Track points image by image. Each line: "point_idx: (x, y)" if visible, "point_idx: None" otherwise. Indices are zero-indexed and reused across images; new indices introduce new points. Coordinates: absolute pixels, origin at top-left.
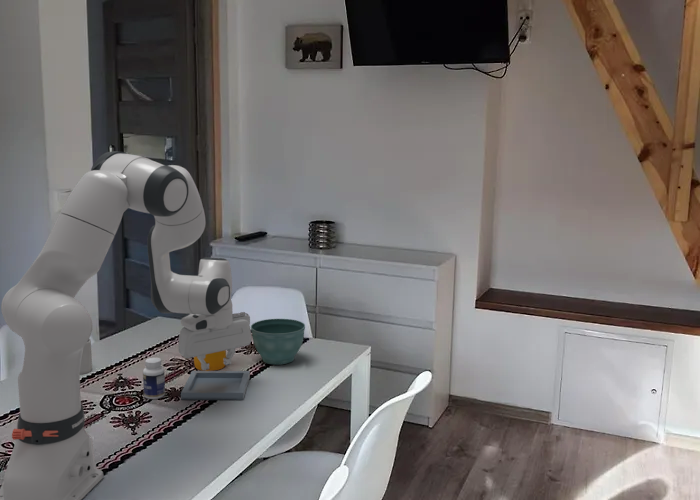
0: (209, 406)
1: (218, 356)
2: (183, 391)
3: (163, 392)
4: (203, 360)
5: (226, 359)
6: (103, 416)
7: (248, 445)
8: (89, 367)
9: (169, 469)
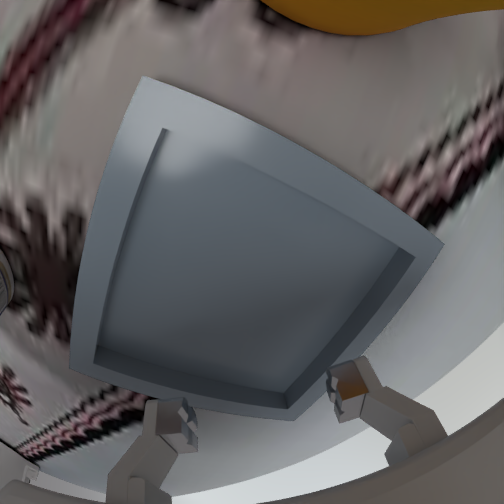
0: None
1: (403, 20)
2: (76, 363)
3: (6, 305)
4: (157, 481)
5: (339, 421)
6: None
7: (214, 487)
8: None
9: (105, 484)
